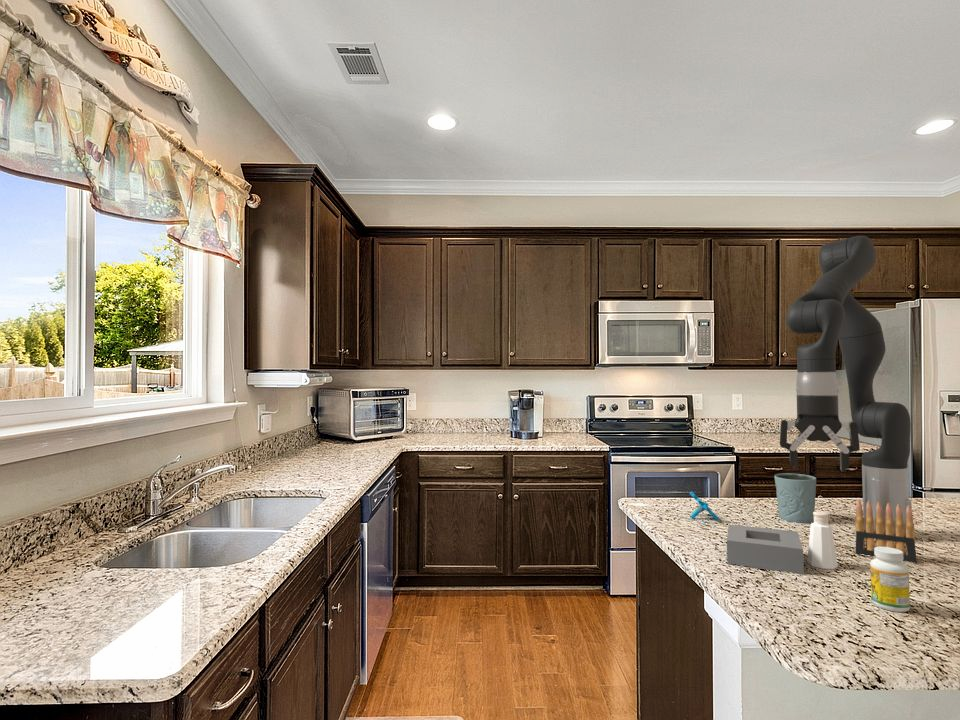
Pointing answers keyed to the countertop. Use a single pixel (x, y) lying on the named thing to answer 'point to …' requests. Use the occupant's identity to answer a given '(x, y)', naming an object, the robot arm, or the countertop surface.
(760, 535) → the frame
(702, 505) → the blue t-shaped piece
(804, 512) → the blue cup
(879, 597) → the supplement bottle
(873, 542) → the ammunition clip
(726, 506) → the countertop surface
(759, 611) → the countertop surface
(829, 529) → the pepper shaker
